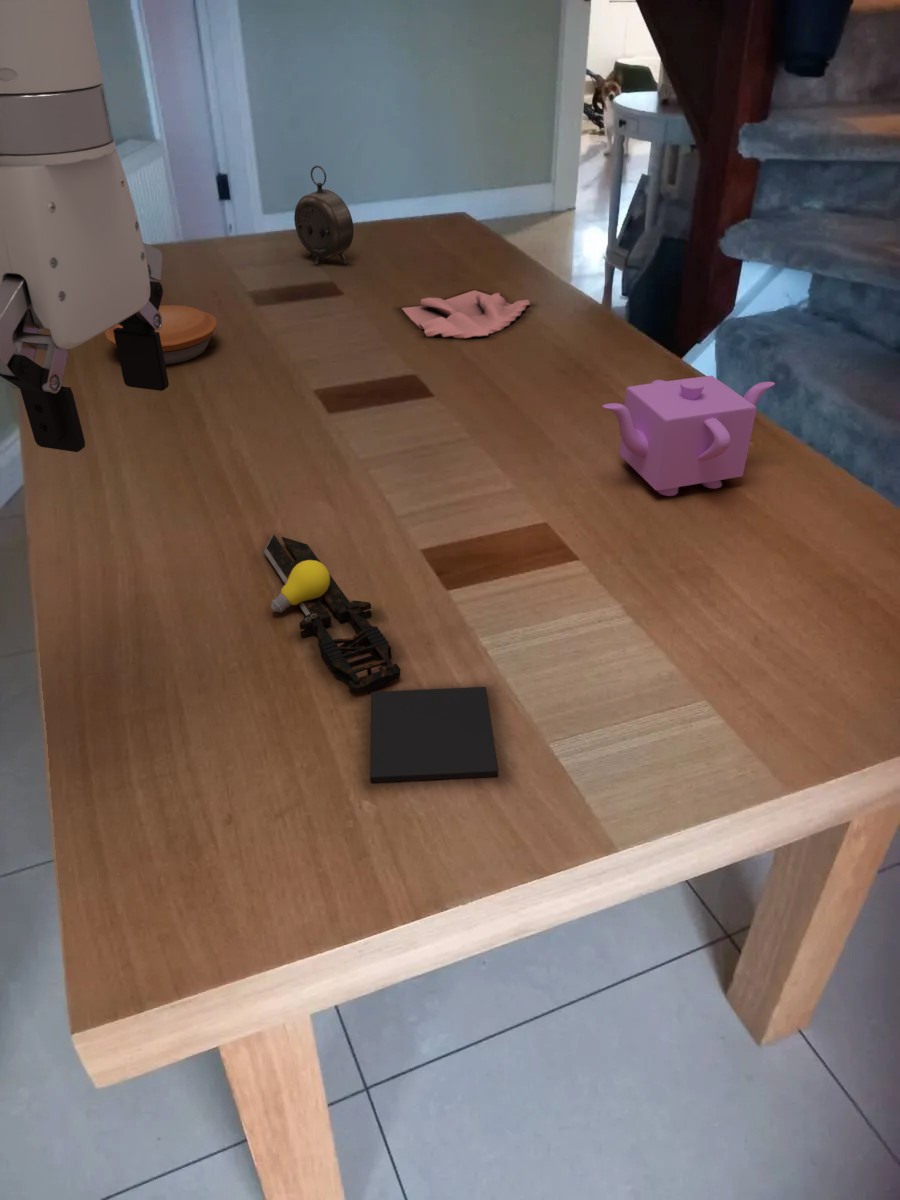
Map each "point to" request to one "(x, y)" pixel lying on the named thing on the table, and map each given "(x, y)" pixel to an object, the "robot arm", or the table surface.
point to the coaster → (431, 735)
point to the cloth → (465, 315)
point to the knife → (343, 610)
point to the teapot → (686, 431)
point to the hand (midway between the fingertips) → (107, 415)
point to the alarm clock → (324, 223)
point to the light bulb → (302, 585)
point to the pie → (180, 332)
